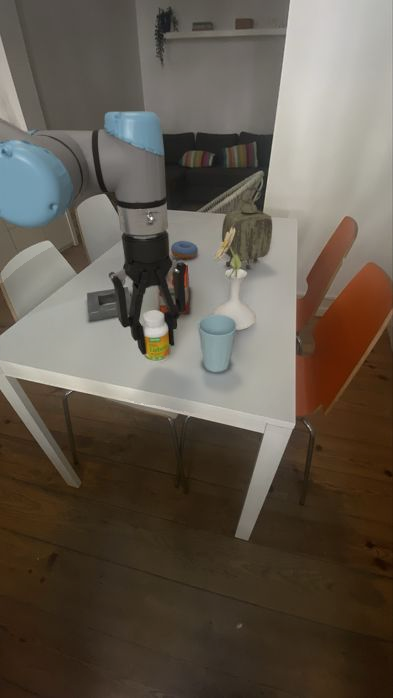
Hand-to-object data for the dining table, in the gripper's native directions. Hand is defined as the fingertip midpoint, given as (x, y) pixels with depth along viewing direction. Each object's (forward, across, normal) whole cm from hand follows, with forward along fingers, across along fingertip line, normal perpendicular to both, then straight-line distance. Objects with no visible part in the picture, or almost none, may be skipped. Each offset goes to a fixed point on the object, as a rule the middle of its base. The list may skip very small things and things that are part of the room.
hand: (156, 346), depth 65 cm
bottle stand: (+7, -2, +31) cm, 32 cm away
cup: (+6, +12, -4) cm, 14 cm away
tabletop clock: (+6, +46, +36) cm, 59 cm away
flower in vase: (+6, +23, +7) cm, 25 cm away
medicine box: (+6, +16, +26) cm, 31 cm away
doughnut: (+6, +32, +55) cm, 64 cm away
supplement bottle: (+3, 0, 0) cm, 3 cm away
